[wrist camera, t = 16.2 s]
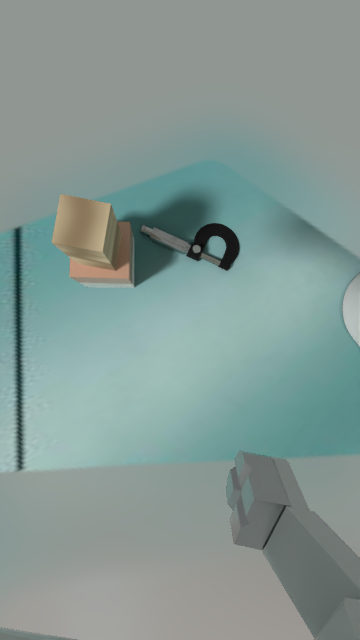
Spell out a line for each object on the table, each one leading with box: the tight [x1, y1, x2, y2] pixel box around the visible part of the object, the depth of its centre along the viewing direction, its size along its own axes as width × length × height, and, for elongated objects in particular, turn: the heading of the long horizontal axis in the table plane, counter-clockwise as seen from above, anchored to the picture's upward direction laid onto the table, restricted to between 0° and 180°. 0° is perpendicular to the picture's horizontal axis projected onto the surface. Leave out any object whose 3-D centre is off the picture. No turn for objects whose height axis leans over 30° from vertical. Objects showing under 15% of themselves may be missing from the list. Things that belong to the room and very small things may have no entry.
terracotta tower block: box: [70, 221, 133, 284], centre depth 34 cm, size 7×7×4 cm
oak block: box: [52, 194, 122, 271], centre depth 28 cm, size 4×4×8 cm
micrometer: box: [140, 223, 239, 271], centre depth 40 cm, size 15×7×2 cm, turn 67°
